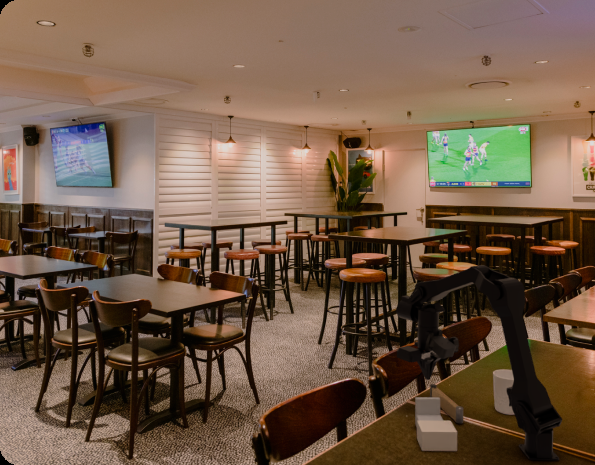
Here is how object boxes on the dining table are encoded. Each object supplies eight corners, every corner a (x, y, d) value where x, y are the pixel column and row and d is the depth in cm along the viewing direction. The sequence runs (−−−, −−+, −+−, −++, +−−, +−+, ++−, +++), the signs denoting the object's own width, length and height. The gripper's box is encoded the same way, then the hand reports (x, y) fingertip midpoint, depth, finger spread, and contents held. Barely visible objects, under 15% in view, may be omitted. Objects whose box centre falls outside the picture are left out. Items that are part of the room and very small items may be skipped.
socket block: (457, 451, 117) (457, 432, 117) (421, 450, 118) (422, 431, 117) (450, 438, 123) (450, 420, 123) (416, 438, 124) (416, 420, 123)
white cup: (498, 401, 145) (498, 367, 144) (527, 408, 140) (528, 373, 139) (488, 411, 139) (489, 375, 138) (518, 418, 134) (519, 381, 133)
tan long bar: (464, 423, 131) (464, 408, 130) (457, 424, 130) (457, 409, 130) (434, 396, 148) (435, 383, 148) (429, 397, 148) (429, 384, 148)
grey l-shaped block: (445, 436, 124) (445, 408, 123) (420, 436, 124) (420, 408, 123) (438, 424, 131) (439, 397, 130) (415, 423, 131) (415, 397, 130)
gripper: (424, 336, 132) (424, 395, 133) (473, 326, 141) (473, 381, 142) (395, 327, 141) (395, 382, 142) (443, 318, 151) (442, 370, 152)
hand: (427, 379), depth 145 cm, fingers closed
